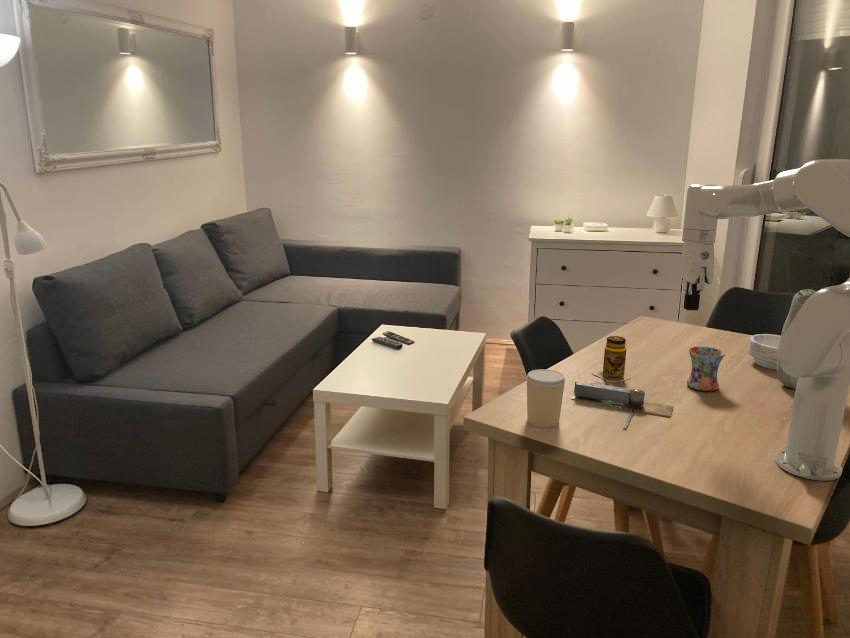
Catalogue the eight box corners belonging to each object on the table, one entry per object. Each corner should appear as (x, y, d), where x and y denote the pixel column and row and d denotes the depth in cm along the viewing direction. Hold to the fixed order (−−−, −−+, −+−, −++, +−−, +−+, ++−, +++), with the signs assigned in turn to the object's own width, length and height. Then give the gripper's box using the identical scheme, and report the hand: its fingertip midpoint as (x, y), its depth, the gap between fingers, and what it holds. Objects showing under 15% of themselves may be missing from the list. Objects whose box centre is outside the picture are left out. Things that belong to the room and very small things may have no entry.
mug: (714, 396, 190) (719, 359, 187) (679, 388, 195) (684, 352, 192) (726, 384, 199) (731, 348, 196) (693, 376, 204) (698, 342, 201)
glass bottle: (817, 395, 191) (834, 296, 184) (775, 390, 194) (791, 292, 187) (810, 383, 200) (827, 288, 193) (771, 378, 203) (786, 284, 196)
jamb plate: (663, 436, 164) (663, 435, 164) (611, 427, 169) (612, 425, 169) (673, 407, 182) (673, 406, 181) (625, 399, 186) (626, 398, 186)
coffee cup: (567, 418, 174) (571, 373, 171) (554, 432, 166) (557, 384, 163) (532, 410, 179) (535, 366, 175) (518, 423, 171) (520, 377, 168)
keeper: (623, 408, 181) (624, 396, 180) (569, 398, 186) (570, 387, 186) (628, 398, 188) (629, 386, 187) (576, 389, 193) (577, 378, 192)
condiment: (612, 383, 198) (616, 343, 195) (591, 374, 205) (594, 335, 202) (631, 378, 202) (634, 339, 199) (609, 370, 209) (612, 331, 206)
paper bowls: (808, 375, 207) (813, 350, 205) (754, 372, 209) (758, 346, 207) (791, 359, 221) (795, 335, 219) (740, 356, 223) (743, 332, 221)
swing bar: (644, 402, 183) (645, 388, 182) (642, 407, 179) (643, 394, 178) (577, 391, 190) (578, 378, 189) (574, 396, 186) (575, 383, 185)
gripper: (727, 240, 162) (718, 317, 167) (702, 231, 176) (694, 302, 181) (694, 240, 162) (686, 317, 167) (672, 231, 176) (665, 302, 181)
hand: (690, 309), depth 174 cm, fingers closed
